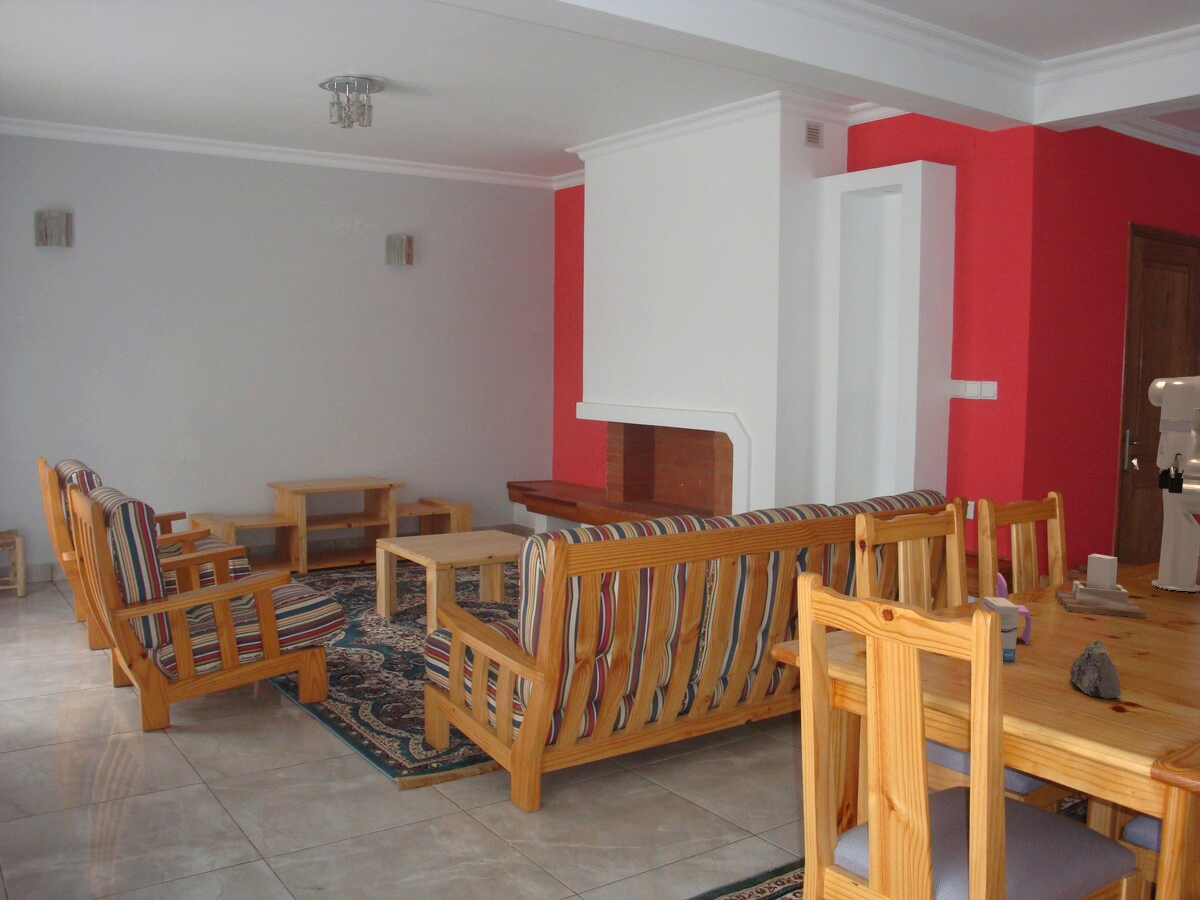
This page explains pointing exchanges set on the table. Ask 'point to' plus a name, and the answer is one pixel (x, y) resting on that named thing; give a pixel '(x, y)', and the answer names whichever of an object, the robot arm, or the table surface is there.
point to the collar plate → (1099, 601)
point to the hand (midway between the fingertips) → (1169, 490)
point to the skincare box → (1101, 572)
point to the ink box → (1005, 623)
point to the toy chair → (1002, 593)
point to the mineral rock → (1096, 672)
